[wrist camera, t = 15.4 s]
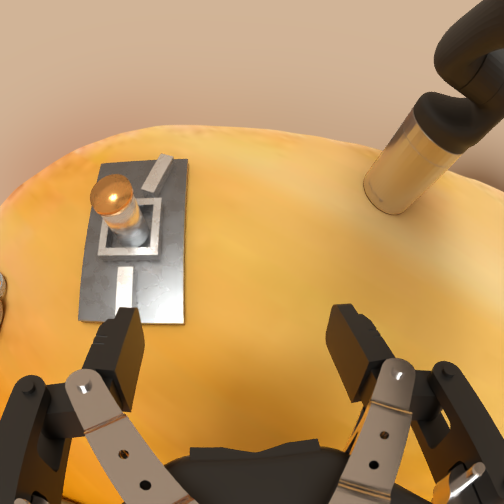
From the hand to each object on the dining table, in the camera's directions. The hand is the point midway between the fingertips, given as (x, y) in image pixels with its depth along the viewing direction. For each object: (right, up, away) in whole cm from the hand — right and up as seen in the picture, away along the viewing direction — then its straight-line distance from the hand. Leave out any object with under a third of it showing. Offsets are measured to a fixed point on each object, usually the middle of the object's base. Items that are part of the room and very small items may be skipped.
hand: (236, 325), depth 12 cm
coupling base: (-15, +5, +28) cm, 32 cm away
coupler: (-15, +6, +26) cm, 31 cm away
